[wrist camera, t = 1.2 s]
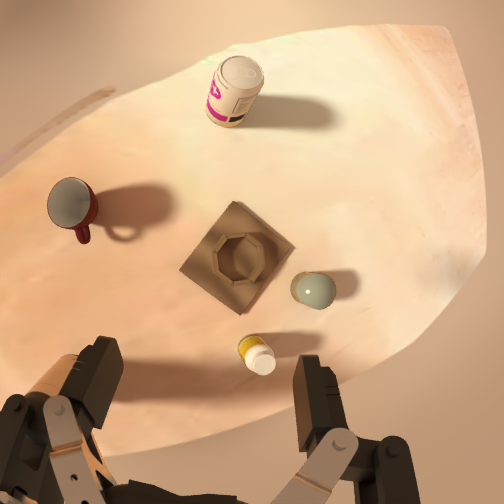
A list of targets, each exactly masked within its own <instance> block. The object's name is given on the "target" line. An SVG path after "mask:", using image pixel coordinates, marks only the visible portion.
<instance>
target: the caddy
mask: <svg viewBox="0 0 504 504" xmlns="http://www.w3.org/2000/svg"><path fill="white" fill-rule="evenodd" d="M289 248H290V247H289V246H287V245H286V244H285V243H284V242H283V241H281V240H280V239H279V238H278V237H277V236H275V235H274V234H273V233H272V232H271V231H269V230H268V229H267V228H266V227H265V226H263V225H262V224H261V223H260V222H259V221H257V220H256V219H255V218H254V217H253V216H251V215H250V214H249V213H248V212H246V211H245V210H244V209H243V208H242V207H240V206H239V205H238V204H237V203H235V202H234V201H232V203H231V204H230V205H229V206H228V208H227V209H226V210H225V211H224V213H223V214H222V215H221V216H220V218H219V219H218V220H217V221H216V223H215V224H214V225H213V226H212V228H211V229H210V230H209V232H208V233H207V234H206V235H205V237H204V238H203V239H202V241H201V242H200V243H199V244H198V246H197V247H196V248H195V250H194V251H193V252H192V254H191V255H190V256H189V258H188V259H187V260H186V262H185V263H184V264H183V265H182V267H181V268H180V269H179V271H181V272H182V273H183V274H184V275H186V276H187V277H188V278H190V279H191V280H192V281H194V282H195V283H196V284H198V285H199V286H200V287H202V288H203V289H204V290H206V291H207V292H208V293H210V294H211V295H212V296H214V297H215V298H217V299H218V300H219V301H221V302H222V303H223V304H225V305H226V306H228V307H229V308H230V309H232V310H233V311H234V312H236V313H237V314H239V315H241V314H242V312H243V311H244V310H245V308H246V307H247V306H248V304H249V303H250V302H251V300H252V299H253V298H254V296H255V295H256V293H257V292H258V291H259V289H260V288H261V287H262V285H263V284H264V283H265V281H266V280H267V279H268V277H269V276H270V274H271V273H272V272H273V270H274V269H275V268H276V266H277V265H278V263H279V262H280V261H281V259H282V258H283V257H284V255H285V254H286V252H287V251H288V250H289Z"/></svg>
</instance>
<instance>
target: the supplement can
mask: <svg viewBox="0 0 504 504" xmlns="http://www.w3.org/2000/svg"><path fill="white" fill-rule="evenodd" d="M263 84H264V76H263V71H262V68H261V66H260V65H259V64H258V63H257V62H256V61H254V60H253V59H251V58H249V57H245V56H233V57H229V58H227V59H226V60H224V61H223V62H222V63H220V64H219V65H218V67H217V68H216V70H215V73H214V77H213V80H212V84H211V88H210V91H209V95H208V99H207V103H206V113H207V116H208V118H209V119H210V120H211V121H212V122H213V123H215V124H216V125H218V126H222V127H233V126H235V125H238V124H239V123H240V122H241V121H243V119H244V117H245V116H246V114H247V112H248V111H249V109H250V107H251V105H252V104H253V102H254V100H255V98H256V97H257V95H258V93H259V92H260V90H261V88H262V86H263Z"/></svg>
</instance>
